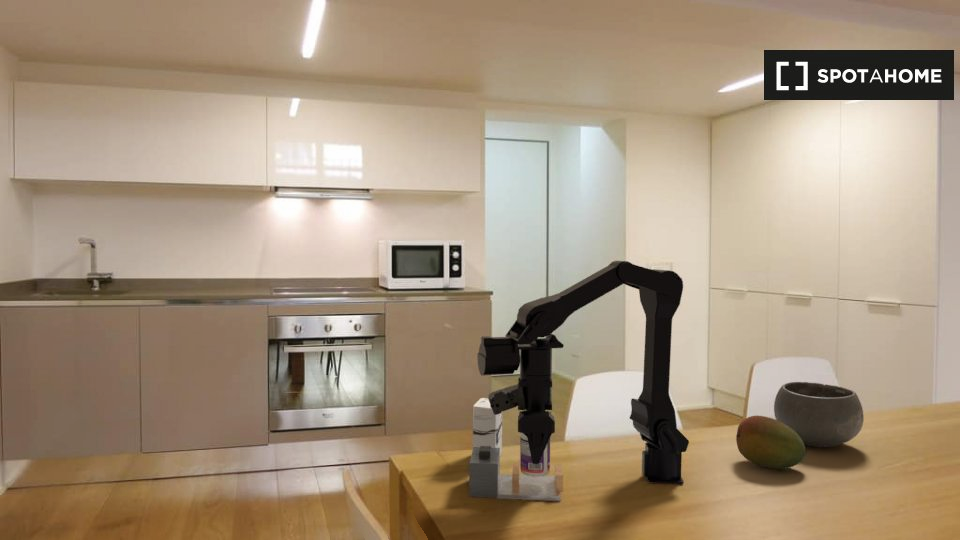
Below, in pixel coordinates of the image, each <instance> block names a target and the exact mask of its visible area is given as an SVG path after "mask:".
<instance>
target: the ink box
mask: <svg viewBox="0 0 960 540" xmlns="http://www.w3.org/2000/svg"><path fill="white" fill-rule="evenodd" d="M480 446H491V448H500V456H501V455H502V453H503V451H502V450H503V412H501V413H500V414H497V415H494V413H493V410H492V408H491V407H490V402H489V399H488V397H487V398H486V397H480V398H479V400H478V401H477V402H475V403H474V404H473V407H472V448H473V447H480Z"/></svg>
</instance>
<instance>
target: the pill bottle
mask: <svg viewBox="0 0 960 540" xmlns="http://www.w3.org/2000/svg"><path fill="white" fill-rule="evenodd" d="M519 436H520V440H519V441H520V443H519V444H520V448H519V449H520V450H519V451H520V452H519V453H520V455H519V456H520V461H519V463H520V472H521V473H522V475H528V476H534V477H539V476H548V474H549V473H550V472H551V438H550V439H549V441H548V443H547V446H546V448H545V450H544V452H543V455H542V457H541V459H540V462H539V464H533V463H532V458H531V453H530V448H529V443H528V439H527V437H526V436H525V435H524V434H523V433H520V435H519Z"/></svg>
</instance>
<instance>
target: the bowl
mask: <svg viewBox="0 0 960 540" xmlns="http://www.w3.org/2000/svg"><path fill="white" fill-rule="evenodd" d="M773 402H774V404H773V412H774V419H775V420H777V421H780V422H782V423H784V424H785V425H787V426H788V427H790V428H791V429H792V430H794V431H795V432H796V433H797V434H798V435H799V436H800V438H801V439H802V441H803V443H804V446H805V445H806V446H809V447H815V448H832V447H836V446H837V447H838V446H839V445H842V444H845V443H848V442H849V441H851V440H852V439H854V438H855V437H857V436H858V434H860V432H861V430H862V429H863V425H864V409H863V406H862V402H861V400H860V398H859V396H858V394H857V392H855V390H852V389H850V388H846V387H843V386H838V385H833V384H832V385H831V384H824V383H819V382H807V381H790V382H786V383H784V384H783V385H781V387H780V388H779V389H778V391H777V393H776V396H775V397H774V401H773Z"/></svg>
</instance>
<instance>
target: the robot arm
mask: <svg viewBox="0 0 960 540" xmlns="http://www.w3.org/2000/svg"><path fill="white" fill-rule="evenodd" d="M622 285H626V286H628V287H631V288H633V289H636V290H638V293H639V300H640V304H641V306H642V309H643V312H644V314H645V334H644V335H645V336H644V353H643V354H644V357H643V358H644V359H643V378H642V379H643V381H642V391H641V393H640V394H639V397H638V398H631V399H630V405H631V413H630V416H629V419H630V420H631V421H632V425H633V428H634V429H635V431H637V433H639V435H640V439H641V441H643V442H645V443H644V445H645V447H644V450H642V451H641V472H642V474H643V476H644V477H645V478H646V480H647V482H648V483H651V484H675V485H676V484H679V485H681V484H684V479H683V478H682V459H683V458H682V456H683V455H682V453H685V452H687V450H688V447H689V444H690V441H689V439H688V438H687V437H686V436H685V435H684V434H683V433H682V432H681V431H680V430H679V429H678V425H677V417H676V410H675V407H674V405H673V402H672V399H671V396H670V373H671V372H670V371H671V353H672V352H671V351H672V328H673V318H674V316H675V314H676V312H677V310H678V308H679V306H681V300H682V294H683V291H684V281H683V278H682V277H681V276H680V275H679V274H678V273H677V272H676V271H672V270H665V269H655V268H653V269H652V268H646V267H644V266H639V265H636V264H634V263H632V262H630V261H626V260H614V261H612V262H610V264H608V265H607V266H605V267H603V268H601V269H600V270H598V271H596V272H595V273H593V274H590V275H589V276H586V278H584V279H582V280H580V281H578V282H577V283H575V284H573V285H571V286H570V287H567V288H566V289H564V290H562V291H561V292H559V293H555V294H551V295H549V296H545V297H540V298H537V299H535V300H531V301H528V302H526V303H524V304H523V305H521V306H520V307H519V308H518V311H517V314H516V320H515V321H514V323H513V324H512V325H511V327H510V329H509V330H508V332H507V333H506V334H505V336H489V335H487V336H486V335H485V336H484V335H483V336H481V338H480V344H479V348H478V352H477V367H478V371H479V374H480V376H498V375H513V374H515V372H516V371H518V370H519V377H518V382H517V383H516V384H514V385H510V386H507V387H504V388H500V389H497V390H496V391H492V392H491V393H489V394H488V397H487V398H488V399H489V402H490V407H491V408H492V410H493V413H494V415H497V414H500V413H501V412H502V413H503V412H505V411H508V410H512V409H513V408H514V409H515V408H517V411H519V412H518V413H519V415H518V416H517V433H520V434H521V433H523V434H524V435H525V436H526V437H527V439H528V443H529V448H530V453H531V458H532V463H533V464H539V462H540V459H541V457H542V455H543V452H544V450H545V448H546V446H547V443H548V441H549V439H550V440H551V436H552V435H553V434H555V433H556V426H555V424H556V420H555V416H554V415H553V414H552V412H550V411H553V402H552V398H553V397H552V394H553V393H552V391H553V389H552V388H553V375H552V374H553V349H563V348H564V344H563V343H562V342H561V341H560V340H559V339H558V338H557V336H556V334H553V332H555V331H556V330H558V329H559V328H560V327H561V326H563V325H564V324H565V322H566V320H567V319H568V318H569V317H570V316H571V315H572V314H574V313H575V312H577V311H578V310H580V309H582V308H584V307H586V306H587V305H589V304H590V303H592V302H594V301H596V300H597V299H599V298H601V297H603V296H604V295H605V296H606V294H608V293H610V292H612V291H613V290H615V289H617V288H619V287H620V286H622Z"/></svg>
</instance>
